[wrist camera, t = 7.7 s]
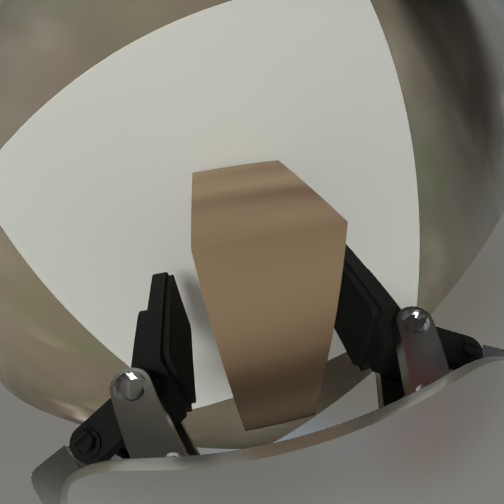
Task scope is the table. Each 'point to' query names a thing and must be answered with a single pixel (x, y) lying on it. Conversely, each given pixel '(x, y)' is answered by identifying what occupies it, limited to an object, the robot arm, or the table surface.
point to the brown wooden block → (268, 284)
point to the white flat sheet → (211, 158)
